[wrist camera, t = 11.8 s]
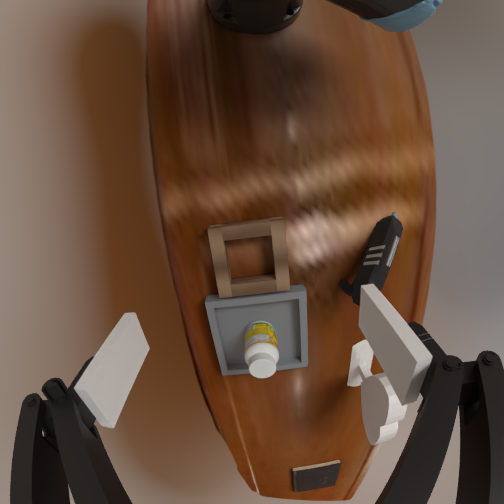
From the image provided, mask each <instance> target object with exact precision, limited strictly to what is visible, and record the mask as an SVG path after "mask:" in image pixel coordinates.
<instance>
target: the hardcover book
mask: <svg viewBox="0 0 504 504" xmlns="http://www.w3.org/2000/svg"><path fill="white" fill-rule="evenodd" d="M341 464H342V462H341V463H340V460H336V461H331V462H327V463H322V464H316V465H311V466H305V467H298V468H292V478H293V492H301V491H308V490H314V489H319V488H324V487H329V486H334V485H335V483H336V480H337V477H338V474H339V470H340V467H341Z"/></svg>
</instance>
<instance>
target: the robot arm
mask: <svg viewBox="0 0 504 504" xmlns="http://www.w3.org/2000/svg"><path fill="white" fill-rule="evenodd" d="M207 1H208V6H209V10H210V13H211V14H212V16H213V17H214V19H215V20H216V21H217V22H219V23H220V24H221V25H223V26H225V27H226V28H229V29H231V30H234V31H237V32H242V33H249V34H263V33H270V32H274V31H278V30H280V29H283V28H285V27H287V26H288V25H290V24H291V23H292V22H294V21H295V19H296V18H297V17H298V15H299V13H300V10H301V8H302V4H303V0H207ZM326 1H329V2H331V3H333V4H335V5H338V6H340V7H342V8H344V9H346V10H348V11H350V12H352V13H354V14H356V15H358V16H359V17H360V18H361V19H363V20H365V21H369V22H372V23H374V24H375V25H377V26H379V27H381V28H383V29H385V30H387V31H390V32H404V31H407V30H410V29H412V28H415V27H416V26H418V25H419V24H421V23H423V22H424V21H425V20H427V19H428V18H429V17H430V16H431V15H432V14H433V13H434V12H435V11H436V7H437V6H439V5H441V3H442V1H443V0H326ZM359 327H360V329H361V331H362V332H363V334H364V336H365V338H366V339H367V341H368V343H369V345H370V347H371V348H372V350H373V352H374V354H375V356H376V357H377V359H378V361H379V363H380V365H381V367H382V368H383V370H384V372H385V374H386V376H387V378H388V380H389V382H390V384H391V385H392V387H393V389H394V391H395V393H396V395H397V397H398V399H399V401H400V403H401V405H402V406H403V405H406V404H409V403H412V402H414V401H416V400H417V398H418V396H419V393H421V395H422V396H423V400H422V402H421V405H420V407H419V409H418V411H417V412H418V415H417V417H416V420H415V423H414V425H413V428H412V430H411V433H410V435H409V438H408V440H407V443H406V445H405V447H404V450H403V452H402V454H401V456H400V458H399V461H398V462H397V465H396V467H395V469H394V471H393V473H392V475H391V476H390V479H389V480H388V482H387V484H386V486H385V488H384V489H383V491H382V493H381V495H380V496H379V498H378V500H377V501H376V503H375V504H427V502H428V500H429V497H430V495H431V493H432V490H433V488H434V486H435V483H436V481H437V478H438V475H439V473H440V470H441V467H442V464H443V461H444V458H445V455H446V452H447V449H448V445H449V442H450V438H451V434H452V431H453V427H454V423H455V419H456V414H457V409H458V406H459V412H460V468H459V480H458V490H457V498H456V504H504V369H503V365H502V362H501V359H500V358H499V356H498V355H497V354H496V353H494V352H492V351H483V352H481V353H480V354H479V355H478V357H477V360H476V361H470V362H462V361H461V360H460V359H459V358H458V357H455V356H451V355H446V354H445V353H444V351H443V350H442V349H441V348H440V346H439V345H438V344H437V343H436V342H435V340H434V339H432V337H431V336H430V334H428V332H427V331H426V330H425V329H424V328H423V326H421V325H420V324H418V323H416V322H411V323H406V322H405V321H404V319H403V318H402V317H401V316H400V314H399V313H398V312H397V311H396V310H395V308H394V307H393V306H392V305H391V304H390V303H389V301H388V300H387V299H386V298H385V297H384V296H383V294H382V293H381V292H380V291H379V290H378V289H377V287H376V286H375V285H374V284H368V285H362V286H361V296H360V314H359ZM149 349H150V348H149V346H148V344H147V341H146V339H145V336H144V334H143V331H142V329H141V326H140V324H139V321H138V318H137V315H136V313H125V314H124V315H123V316H122V318H121V319H120V321H119V322H118V323H117V325H116V326H115V327H114V329H113V330H112V332H111V333H110V335H109V336H108V337H107V339H106V340H105V342H104V343H103V345H102V346H101V348H100V349H99V350H98V352H97V353H96V355H95V356H93V357H91V358H90V359H89V360H87V361H86V362H85V364H84V366H83V367H82V369H81V370H80V371H79V373H78V375H77V376H76V377H75V379H74V380H73V382H72V383H71V385H70V387H69V388H68V389H67V387H66V386H65V384H64V383H63V381H62V380H61V379H60V378H52V379H50V380H48V381H47V382H46V383H45V384H44V385H43V387H42V392H43V393H44V395H45V396H46V398H47V399H48V400H42V398H41V397H40V396H39V395H38V394H36V393H33V394H30V395H28V396H26V398H25V399H24V401H23V403H22V407H21V411H20V416H19V421H18V426H17V431H16V437H15V443H14V451H13V459H12V470H11V485H10V486H11V487H10V504H70V499H69V488H68V484H69V487H70V490H71V493H72V496H73V499H74V501H75V504H132V502H131V500H130V499H129V497H128V495H127V493H126V491H125V490H124V488H123V486H122V484H121V482H120V480H119V478H118V476H117V474H116V472H115V470H114V468H113V466H112V463H111V461H110V459H109V457H108V455H107V452H106V450H105V448H104V445H103V443H102V440H101V438H100V435H99V432H98V430H97V428H96V426H95V425H94V422H95V420H96V419H97V421H98V422H99V423H100V424H101V425H102V426H104V427H109V428H114V427H115V425H116V422H117V420H118V417H119V415H120V413H121V410H122V408H123V406H124V403H125V401H126V399H127V396H128V394H129V392H130V390H131V388H132V385H133V383H134V381H135V379H136V376H137V374H138V372H139V370H140V368H141V366H142V364H143V361H144V359H145V357H146V355H147V353H148V351H149ZM42 431H43V432H44V437H43V435H42Z"/></svg>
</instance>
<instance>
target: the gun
mask: <svg viewBox="0 0 504 504" xmlns="http://www.w3.org/2000/svg"><path fill="white" fill-rule="evenodd" d="M402 230H403V227H402V224H401V222H400V221H399V220H398V214H397V213H396V212H393V213H392V215H391V216H389V217H386V218H383V219H381V220H380V221H379V222H377V224H376V227H375V229H374V232H373V235H372V237H371V240H370V243H369V245H368V248H367V250H366V253H365V255H364V258H363V260H362V262H361V265H360V267H359V269H358V272H357V274H356V276H355V279H354V282H353V284H348V283H347V281H345V280H344V279H343V278H342V280H341V282H340V284H339V285H340V288H341V290H342V291H344V292H345V293H346V294H348V295H349V296H352V299H353V302H354V303H356V304H357V305H359V306H360V296H361V286H362V285H368V284H374V285H375V286H376V287H377V289H378V290H379V291H381V289H382V287H383V285H384V282H385V280H386V277H387V275H388V272H389V269H390V267H391V264H392V261H393V258H394V255H395V253H396V250H397V247H398V244H399V240H400V237H401V234H402Z"/></svg>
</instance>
